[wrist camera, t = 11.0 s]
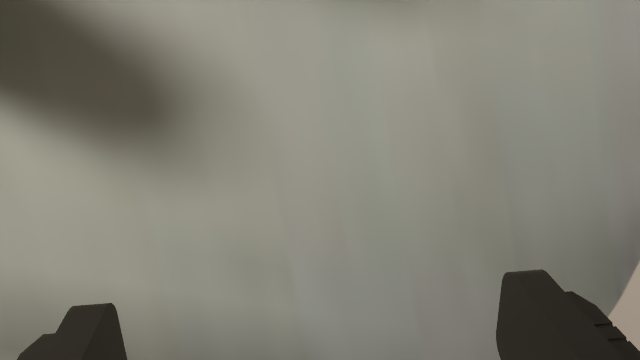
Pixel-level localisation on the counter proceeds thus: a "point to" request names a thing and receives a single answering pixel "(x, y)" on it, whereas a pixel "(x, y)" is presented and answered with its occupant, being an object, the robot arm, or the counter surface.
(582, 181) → the counter surface
